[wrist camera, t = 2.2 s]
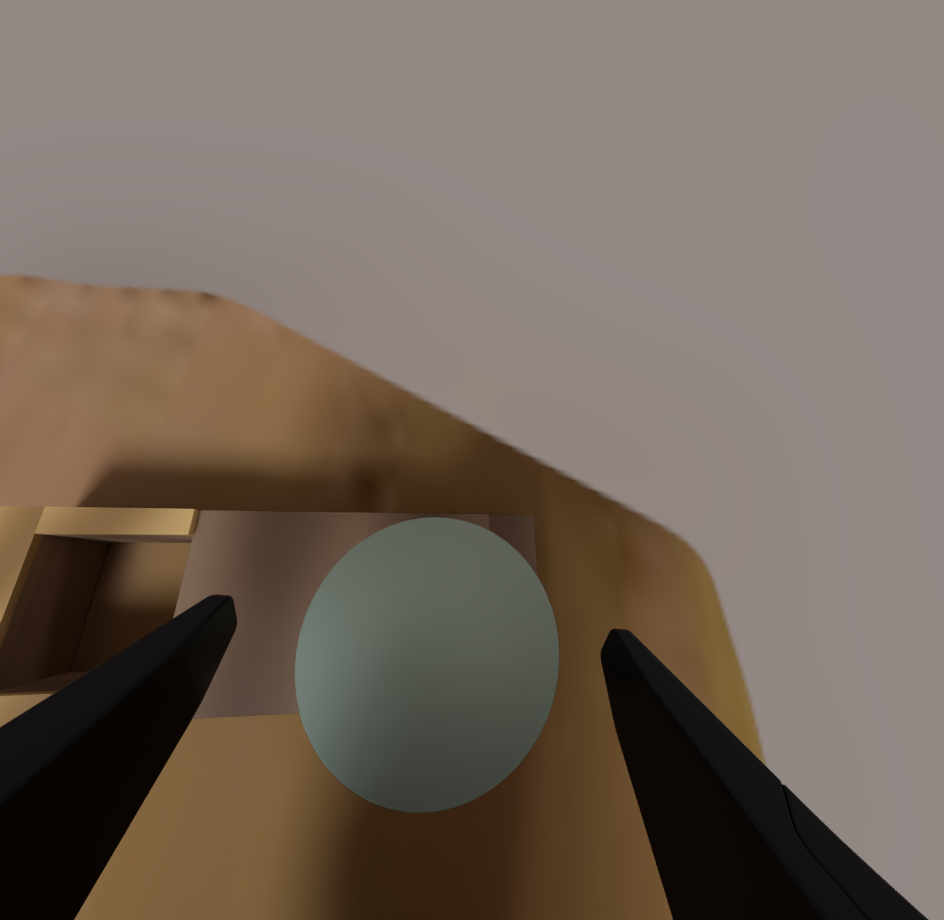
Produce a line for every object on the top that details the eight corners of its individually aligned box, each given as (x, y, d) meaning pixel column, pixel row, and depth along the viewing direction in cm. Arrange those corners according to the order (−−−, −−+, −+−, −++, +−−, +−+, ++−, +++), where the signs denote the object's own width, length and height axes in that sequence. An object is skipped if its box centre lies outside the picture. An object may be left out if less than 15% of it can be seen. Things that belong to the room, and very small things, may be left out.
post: (453, 648, 17) (533, 843, 4) (378, 628, 16) (245, 774, 4) (471, 570, 18) (575, 551, 6) (402, 551, 18) (353, 490, 5)
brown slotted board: (517, 524, 19) (535, 513, 16) (525, 679, 17) (548, 702, 13) (66, 519, 16) (-19, 505, 13) (0, 703, 14) (-121, 738, 11)
